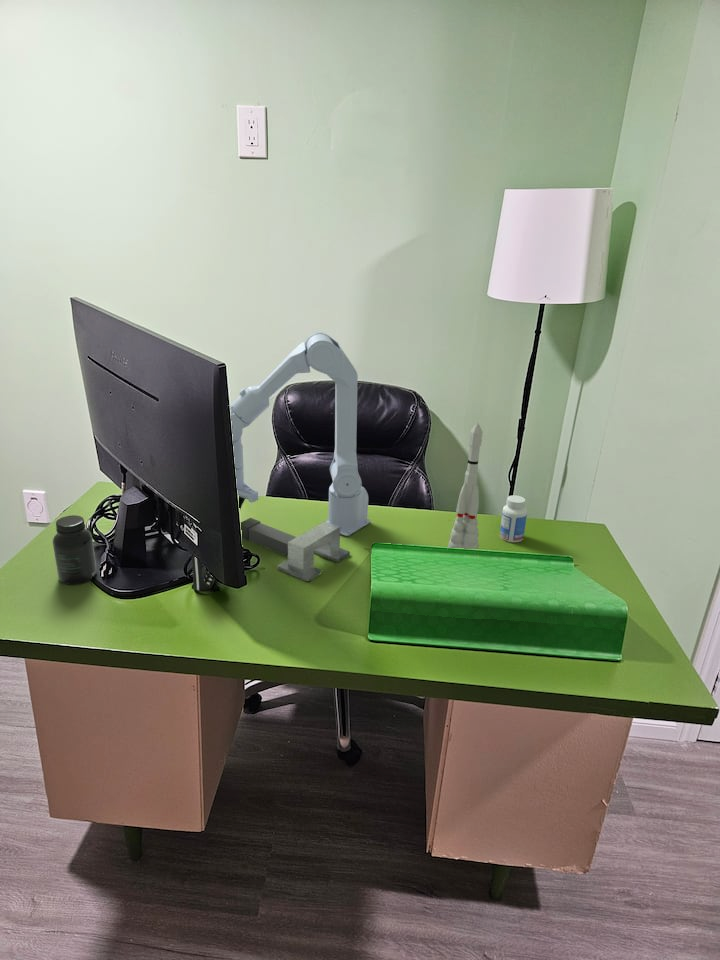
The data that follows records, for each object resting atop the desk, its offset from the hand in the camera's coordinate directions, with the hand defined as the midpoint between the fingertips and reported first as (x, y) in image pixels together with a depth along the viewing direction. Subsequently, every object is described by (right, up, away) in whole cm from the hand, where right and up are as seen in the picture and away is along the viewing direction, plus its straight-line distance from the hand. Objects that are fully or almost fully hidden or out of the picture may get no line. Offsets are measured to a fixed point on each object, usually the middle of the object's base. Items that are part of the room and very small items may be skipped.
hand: (232, 521), depth 143 cm
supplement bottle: (-26, -9, -20) cm, 34 cm away
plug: (+9, -4, -5) cm, 11 cm away
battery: (-1, -11, -20) cm, 23 cm away
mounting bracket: (+19, -8, -12) cm, 24 cm away
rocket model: (+51, -7, -7) cm, 52 cm away
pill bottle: (+63, -4, +2) cm, 64 cm away
